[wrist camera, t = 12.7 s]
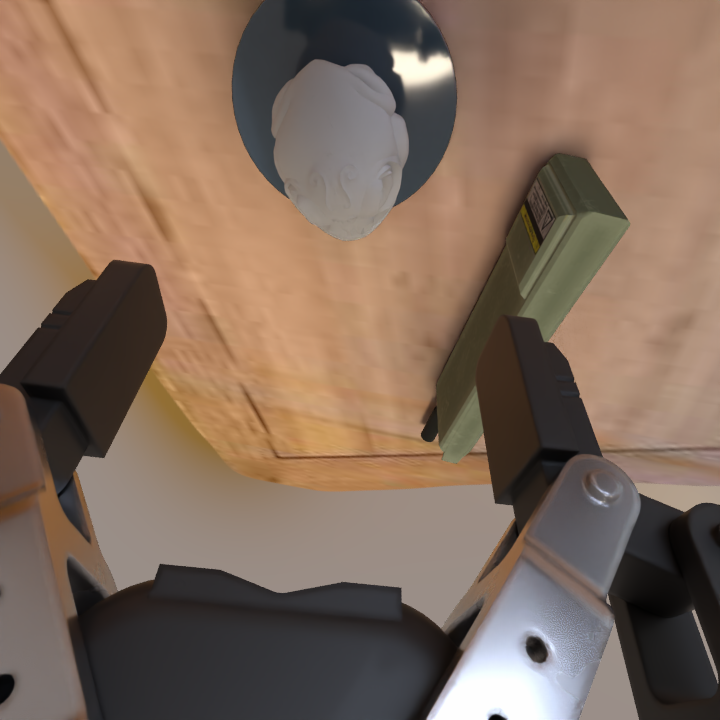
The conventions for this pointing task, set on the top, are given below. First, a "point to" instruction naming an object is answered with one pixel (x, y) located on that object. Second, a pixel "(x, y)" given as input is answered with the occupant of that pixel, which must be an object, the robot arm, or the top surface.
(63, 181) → the top surface
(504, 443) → the robot arm
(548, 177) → the handheld radio
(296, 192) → the white stone carving
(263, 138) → the coaster
